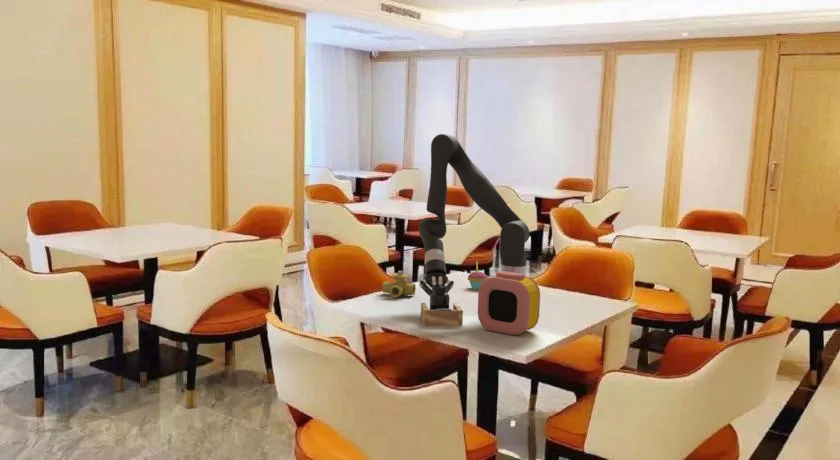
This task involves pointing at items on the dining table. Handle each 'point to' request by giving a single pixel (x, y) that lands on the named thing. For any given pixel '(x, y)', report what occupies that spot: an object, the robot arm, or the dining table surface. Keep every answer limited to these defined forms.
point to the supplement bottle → (439, 297)
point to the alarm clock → (508, 303)
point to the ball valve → (399, 285)
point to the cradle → (442, 315)
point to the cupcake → (476, 278)
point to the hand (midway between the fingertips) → (438, 304)
